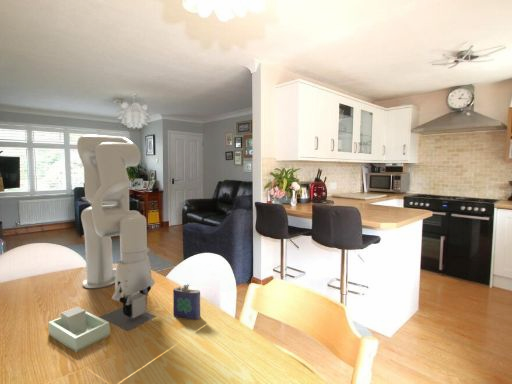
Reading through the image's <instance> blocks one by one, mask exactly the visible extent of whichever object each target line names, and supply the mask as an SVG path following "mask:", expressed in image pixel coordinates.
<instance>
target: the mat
mask: <svg viewBox="0 0 512 384" xmlns="http://www.w3.org/2000/svg"><path fill="white" fill-rule="evenodd" d="M157 316H158V315H155V314H153V313H150V312H148V311H146V312H145V313H143V314H141V315H139V316H137V317H135V318H132V317H128V316H126V315H124V313H123V306H121V307H118V308H116V309H114V310H111V311H109V312H107V313H105V314H103V315H100V316H99V318H101V319H103V320H105V321H107V322H109V324H112V325H114V326H116V327H119V328H120V329H123V330H125V331H127V332H130V331H132V330H133V329H136V328H137V327H138V328H139V327H140V326H141V325H143V324H145V323H147V322H149V321H151V320H153V319H155V318H156V317H157Z"/></svg>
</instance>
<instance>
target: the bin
mask: <svg viewBox="0 0 512 384" xmlns="http://www.w3.org/2000/svg"><path fill="white" fill-rule="evenodd" d="M85 312H86V329H85V330H82V331H80V332H78V333H76V334H73V333H71V332H69V331H68V330H66V329H64V328H63V327H62V325H61V316H60V317H57V318H56V319H53V320H52V319H51V320H50V321H48V322H47V323H48V335H49V337H50V336H51V338H52V339H54V340H56V341H58V342H60V343H61V344H63V345H64V346H65V347H66V348H69V349H70V350H72V351H73V352H74V353H77V352H80V351H82V350H84V349H86V348H88V347H90V346H91V345H94V344H95V343H97V342H100V341H101V340H103V339H106V338H107V337H110V335H111V334H110V333H111V331H110V322H108V321H106V320H104V319H102V318H100V316H96V315H95V314H93V313H91V312H88V311H86V310H85Z"/></svg>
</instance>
